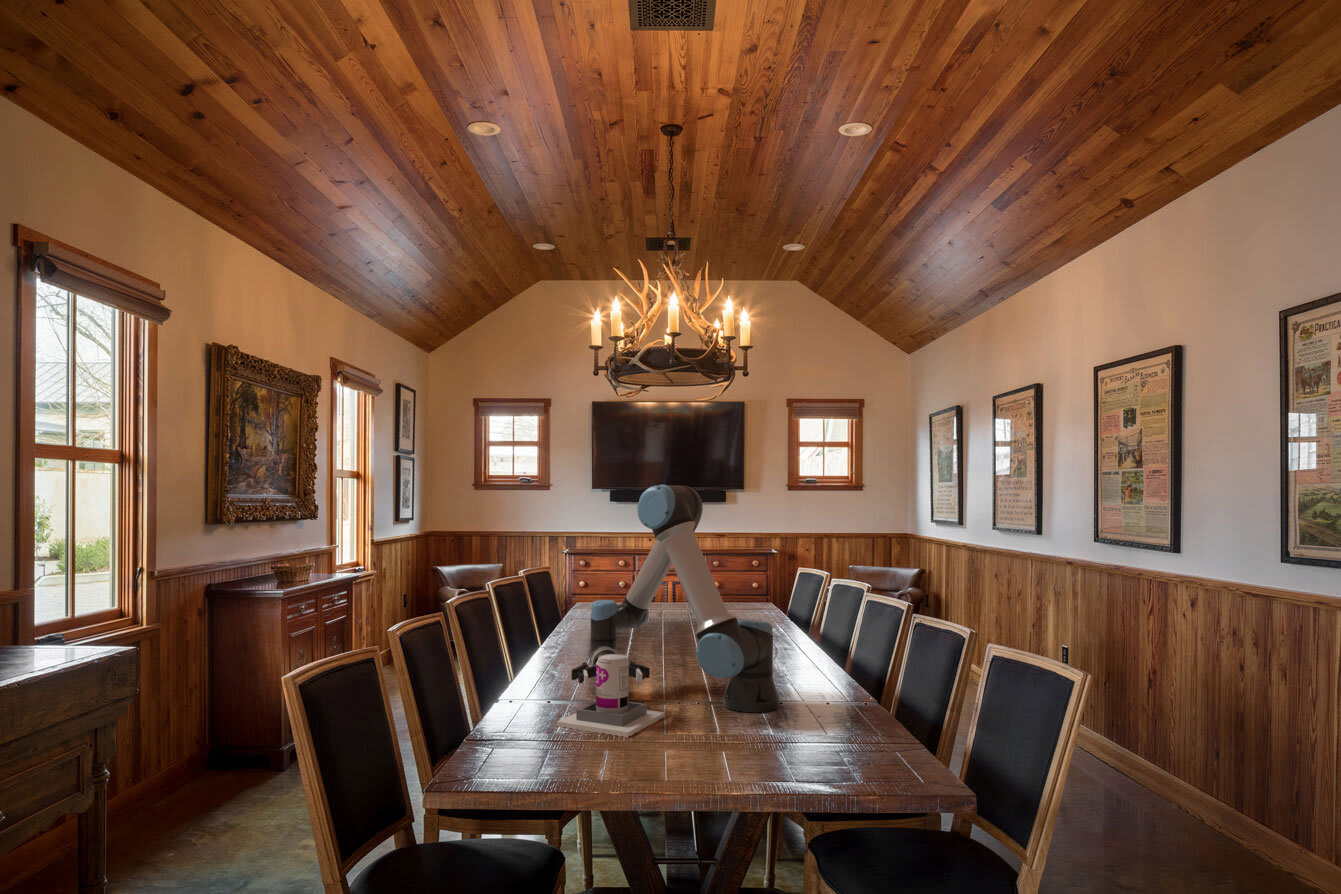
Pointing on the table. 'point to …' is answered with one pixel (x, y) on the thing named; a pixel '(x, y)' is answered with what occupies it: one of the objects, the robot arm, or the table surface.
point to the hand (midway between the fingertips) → (613, 680)
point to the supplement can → (612, 683)
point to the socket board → (612, 720)
